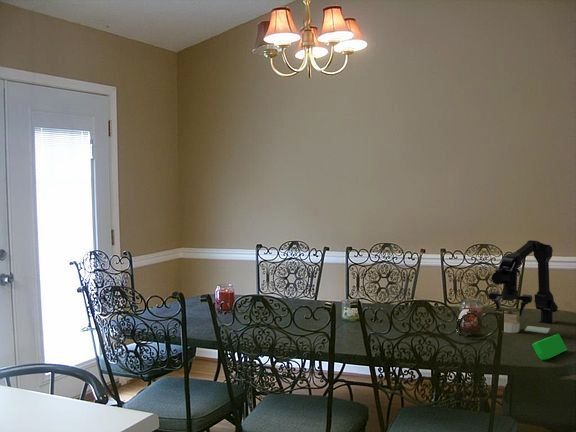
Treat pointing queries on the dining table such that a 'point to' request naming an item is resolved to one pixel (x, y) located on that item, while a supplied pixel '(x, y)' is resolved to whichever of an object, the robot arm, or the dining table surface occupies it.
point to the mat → (537, 329)
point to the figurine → (463, 313)
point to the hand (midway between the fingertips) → (510, 315)
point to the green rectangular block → (549, 347)
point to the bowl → (511, 327)
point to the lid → (511, 317)
